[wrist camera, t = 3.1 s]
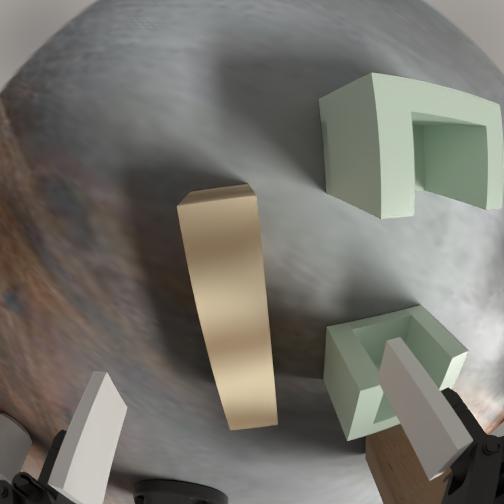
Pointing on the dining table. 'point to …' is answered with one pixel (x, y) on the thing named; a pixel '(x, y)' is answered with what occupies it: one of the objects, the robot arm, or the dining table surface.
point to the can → (12, 447)
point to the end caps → (401, 215)
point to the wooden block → (401, 470)
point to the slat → (231, 299)
